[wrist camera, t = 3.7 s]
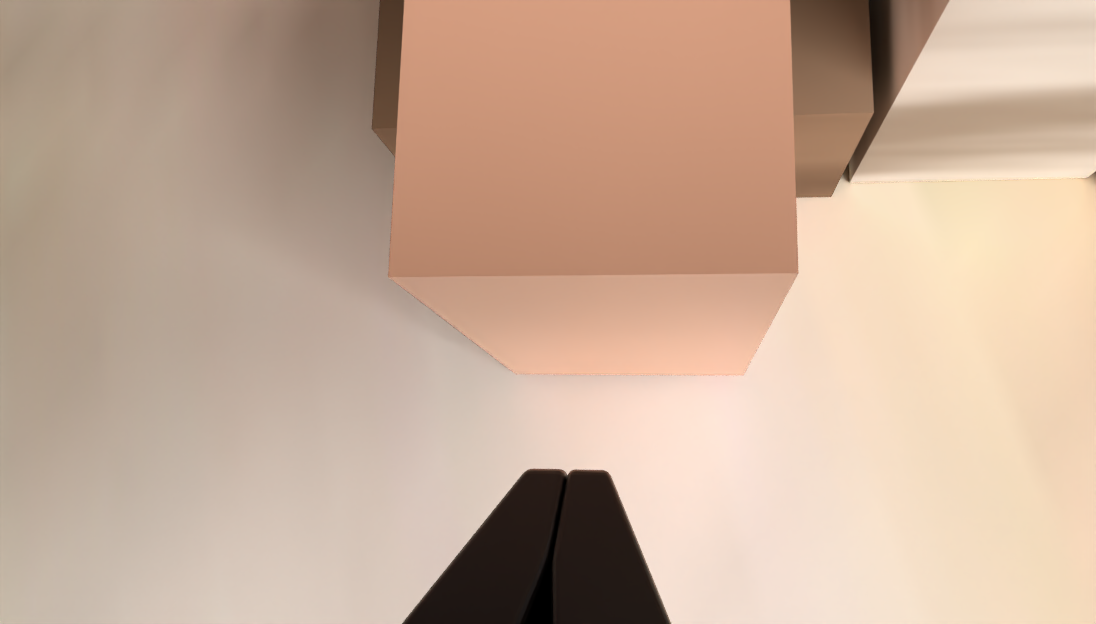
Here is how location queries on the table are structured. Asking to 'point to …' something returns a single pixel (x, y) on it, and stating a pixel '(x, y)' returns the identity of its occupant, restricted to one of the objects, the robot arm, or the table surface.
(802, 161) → the walnut holder
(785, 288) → the terracotta plug
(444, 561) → the table surface
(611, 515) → the robot arm
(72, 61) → the table surface
